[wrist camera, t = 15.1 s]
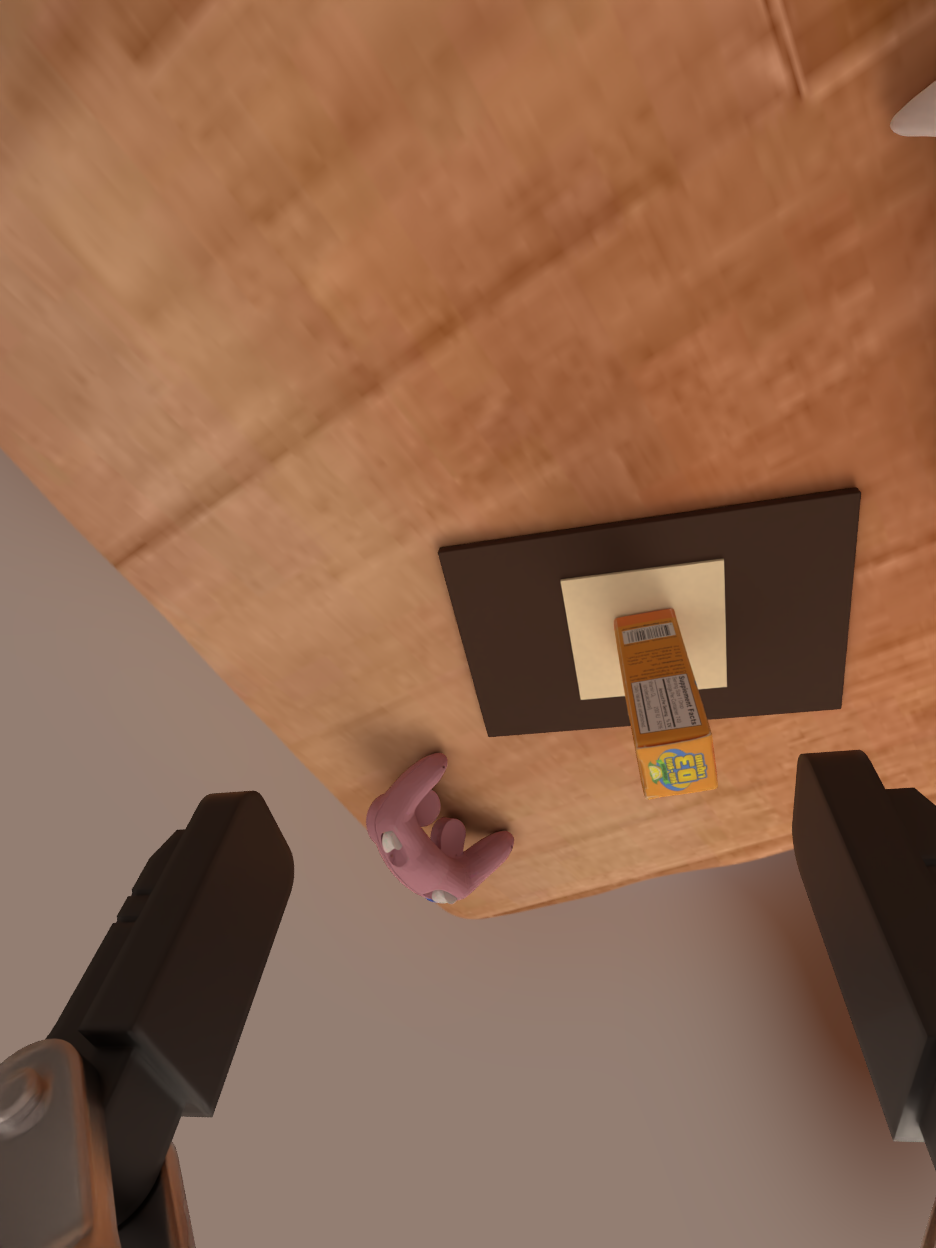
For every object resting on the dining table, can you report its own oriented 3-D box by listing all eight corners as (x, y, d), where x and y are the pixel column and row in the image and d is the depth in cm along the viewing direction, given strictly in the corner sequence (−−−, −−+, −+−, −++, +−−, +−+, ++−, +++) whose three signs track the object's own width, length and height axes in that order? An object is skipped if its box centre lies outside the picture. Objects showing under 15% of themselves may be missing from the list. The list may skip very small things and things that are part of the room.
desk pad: (489, 730, 43) (487, 740, 42) (439, 547, 36) (436, 554, 35) (838, 702, 38) (843, 711, 38) (857, 486, 31) (863, 493, 31)
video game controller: (400, 744, 46) (339, 831, 43) (445, 746, 43) (384, 841, 39) (478, 832, 51) (429, 919, 47) (524, 840, 47) (476, 934, 43)
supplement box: (687, 654, 37) (721, 796, 29) (622, 663, 38) (637, 805, 29) (679, 602, 35) (713, 738, 27) (611, 613, 36) (624, 749, 28)
